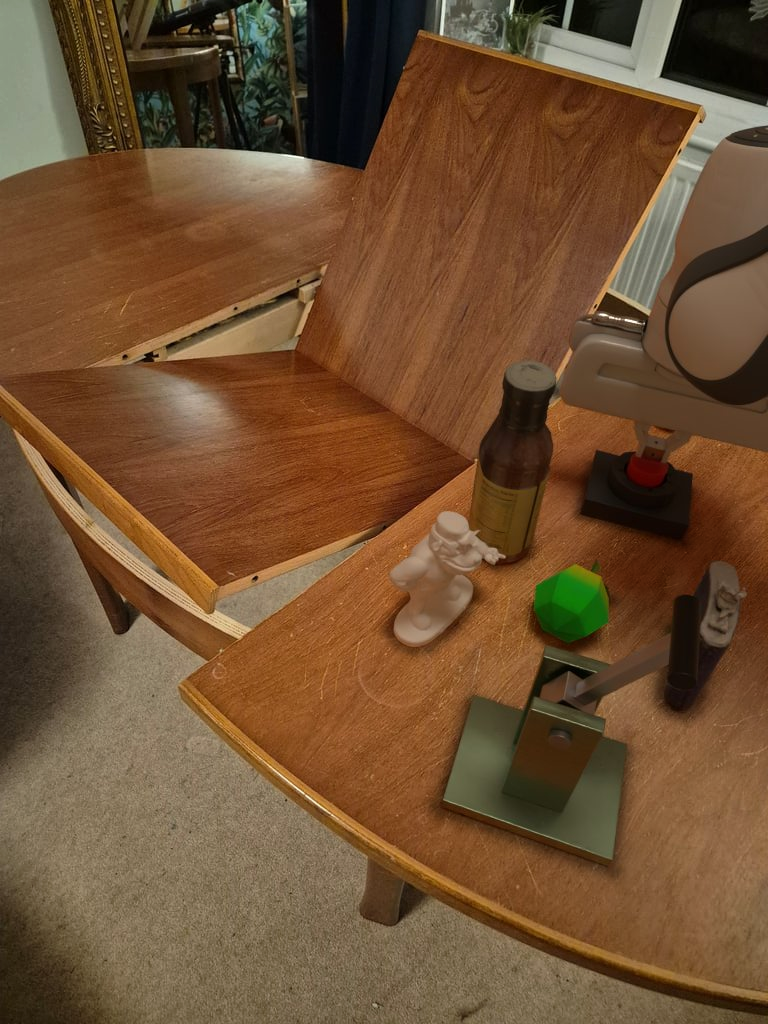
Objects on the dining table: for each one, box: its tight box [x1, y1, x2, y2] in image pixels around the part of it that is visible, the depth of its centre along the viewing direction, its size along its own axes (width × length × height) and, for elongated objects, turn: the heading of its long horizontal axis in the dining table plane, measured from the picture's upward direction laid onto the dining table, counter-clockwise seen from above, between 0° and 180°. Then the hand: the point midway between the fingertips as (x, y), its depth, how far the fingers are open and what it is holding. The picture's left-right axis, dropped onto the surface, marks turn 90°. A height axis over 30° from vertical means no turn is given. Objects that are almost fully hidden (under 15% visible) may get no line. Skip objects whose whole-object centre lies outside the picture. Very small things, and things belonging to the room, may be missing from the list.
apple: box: [533, 559, 611, 644], centre depth 64 cm, size 7×6×9 cm
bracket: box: [440, 644, 628, 867], centre depth 50 cm, size 12×9×13 cm
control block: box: [580, 449, 694, 542], centre depth 75 cm, size 10×8×4 cm
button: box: [626, 453, 668, 488], centre depth 73 cm, size 4×4×2 cm
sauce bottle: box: [468, 360, 557, 565], centre depth 64 cm, size 6×6×20 cm
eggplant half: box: [661, 560, 748, 713], centre depth 59 cm, size 9×3×11 cm, turn 157°
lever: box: [540, 593, 701, 715], centre depth 44 cm, size 12×6×2 cm
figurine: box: [388, 510, 506, 648], centre depth 61 cm, size 9×7×12 cm
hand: (650, 456), depth 72 cm, fingers closed
